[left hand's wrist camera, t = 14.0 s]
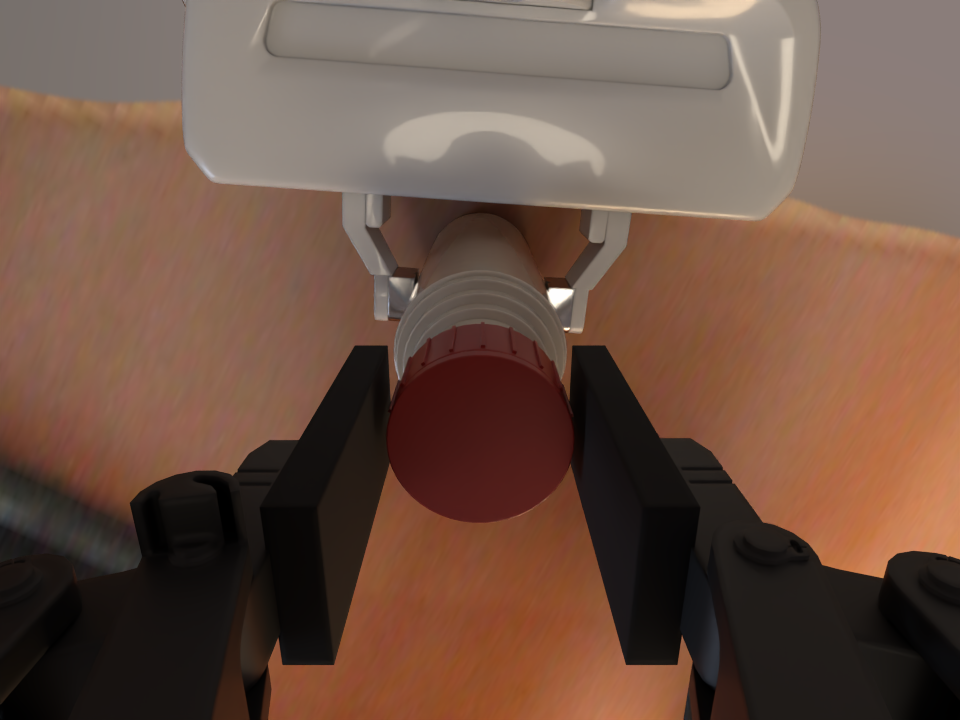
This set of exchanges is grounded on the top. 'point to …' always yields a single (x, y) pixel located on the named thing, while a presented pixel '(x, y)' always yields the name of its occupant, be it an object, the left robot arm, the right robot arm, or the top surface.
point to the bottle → (480, 289)
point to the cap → (480, 424)
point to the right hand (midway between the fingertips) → (479, 323)
